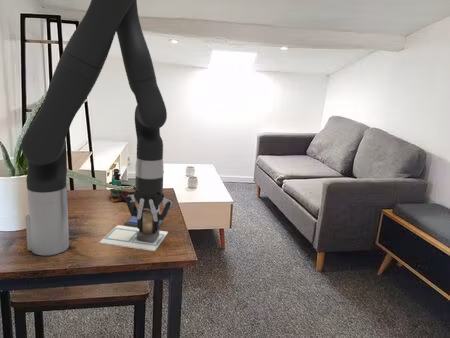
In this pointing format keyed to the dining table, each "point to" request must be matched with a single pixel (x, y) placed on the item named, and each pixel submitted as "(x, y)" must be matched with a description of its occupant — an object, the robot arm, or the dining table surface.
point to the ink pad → (134, 222)
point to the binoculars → (116, 193)
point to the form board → (131, 238)
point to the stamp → (147, 228)
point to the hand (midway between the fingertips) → (148, 230)
